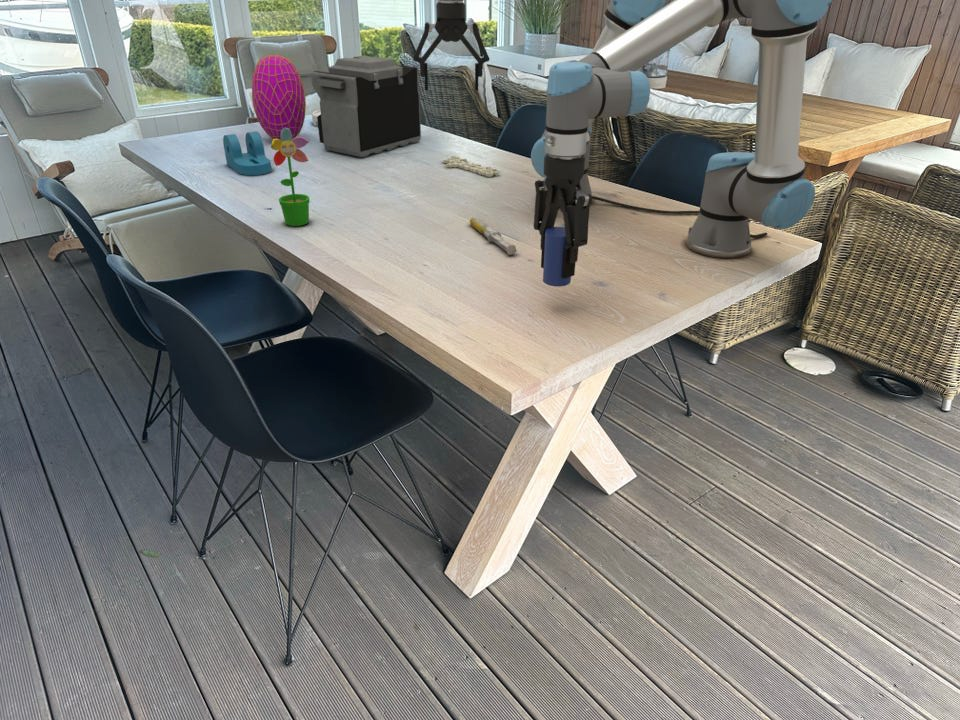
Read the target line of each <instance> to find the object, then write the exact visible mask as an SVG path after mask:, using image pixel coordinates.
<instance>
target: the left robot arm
mask: <svg viewBox="0 0 960 720" xmlns="http://www.w3.org/2000/svg"><path fill="white" fill-rule="evenodd" d="M464 1H465V0H438V1H437V2H436V4H435V11H436V12H435V13H436V14H435V16H436V20H435V23H432V22H428V21H426V22H425V23H424V27H423V28H424V29H423V33H422V35H421V38H420V39H419V42H418V45H417V48H416V49H415V53H414V54H413V57H412V60H413V62H416V63H419V74H420V77H421V78H422V77H423V78H424V90H425V91H429V76H428V75H429V74H428V73H429V71H428V63H427V60H429V58H430V56H431V55H432V53H433V52H434V51H435V50H436V48H437V47H438V45H439V44H440V43H441V42H442V41H443V42H445V43H450V42H453V43H457V42H459V41H461V42H462V44H463V45H464V46H465V48H466V49H467V50H468V51H469V53H470V54H471V55H472V56H473V58H474V59H475V61H476V62H475V63H474V90H475V91H479V78H482V77H483V76H484V75H483V73H484V70H483V69H484V68H483V67H484V66H483V65H484V63H488V62H489V61H490V57H489V54H488V52H487V49H486V48H485V45H484V43H483V40H482V38H481V37H480V34H479V29H478V28H479V27H478V24H477V22H475V21H474V22H472V23H467V22H466V4H465V2H464ZM671 2H672V0H610V2H609V4H608V6H607V8H606V10H605V12H604V14H603V17H604V20H605V21H604V22H605V25H604V28H603V30H602V31H601V33H600V35H599V38H598V39H597V41H596V43H595V45H594V47H593V49H592V51H591V53H592V52H594V51H596V50H597V49H599V48H600V47H602V46H603V45H605V44H607V43H608V42H610V41H611V40H613V39H614V38H616V37H618V36H619V35H621V34H622V33H624V32H625V31H627V30H629V29H630V28H632V27H633V26H635V25H636V24H638V23H640V22H641V21H643V20H644V19H646V18H647V17H649V16H651V15H652V14H654V13H655V12H657V11H658V10H660V9H662V8H663V7H665V6H666V5H668V4H669V3H671ZM434 29H435V31H436V32H437V34H438V35H437V36H436V38H435V39H434V41H433V42H431V44H430V45H429V47H428V48H427V50H426V51H425V52H424V53H423V55H422V56H420V55H421V53H422V50H423V49H424V45H425V44H426V41H427V39H428V36H429V33H432V31H433V30H434ZM467 30H469V32H470V33H473V36H474V38H475V41H476V42H477V45H478V48H479V50H480V52H481V55H482V56H483V57H481V56H480V55H479V54H478V52H477V50H476V49H475V48H474V47H473V45H472V44H471V43H470V41H469V40H468V39H467V37H466V36H465V33H466V31H467ZM595 120H596V118H594V119H589V120H588V129H587V142H586V153H585V154H583V156H584V157H585V167H584V175H583V176H582V178H581V180H580V185H581V191H582V192H583V193H585V194H586V195H588V194H591V195H592V200H591V202H592V201H593V200H596V201H600V202H604V203H608V204H611V205H615V206H619V207H623V208H627V209H631V210H637V211H643V212H648V213H655V214H656V213H657V214H668V215H687V214H688V215H689V214H691V215H693V214H694V215H699V211H700V210H662V209H653V208H647V207H641V206H636V205H632V204H631V205H630V204H626V203H621V202H618V201H614V200H610V199H607V198H603V197H599V196H594V195H593V193H592V188H591V184H590V179H589V165H590V153H591V142H592V134H593V131H592V130H593V129H592V127H593V123H594V121H595ZM545 136H546V128H545V129H544V131H543V133H542V135H541V137H540V138H539V139H537V140H536V142H535V143H534V144H533V147H532V148H531V151H530V152H531V153H530V162H531V164H532V168H533V169H534V171H535V172H536V173H537V174H538V175H539V176H540V177H542V178H543V179H546V176H545V175H544V156H545V155H546V154H547V153H546V152H545ZM568 206H571V205H568ZM568 206H567V207H568ZM748 222H749V223H751V220H750V219H749V220H748Z"/></svg>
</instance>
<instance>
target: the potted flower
mask: <svg viewBox="0 0 960 720" xmlns="http://www.w3.org/2000/svg"><path fill="white" fill-rule="evenodd" d="M280 136H281V140H282V141H281V140H279V139H273V138H272V141H271V145H270V148H271V149H272V150H274V151H275V153H274V155H273V163H274V165H275V167H277V166H282V164H283V163H285V161H286V158H287V164H288V165H287V166H288V171H289V178H284V179H282V180H281V181H280V184H281V185H282V186H285V187H291V193H290V194H286V195H282V196H280V197H279V198H278V202H279V205H280V207H281V210H282V215H283V219H284V223H285V225H287V226H290V227H291V226H292V227H301V226H304V225H306V224H309V222H310V206H309V205H310V196H309V195H307V194H303V193H296V192H295V191H296V190H295V184H294V178H296V177H297V176H299V174H300V173H299V171H297V170H295V171H293V168H292V162H291V161H292V160H291V159H293V160H294V161H296V162H297V163H307V162H309V158H308V156H307V155H306V153H305V152H303V150H301V148H303V147H305V146H306V145H308V144H309V143H310V140H308V139H307V138H306V137H303V136H299V135H298V136H296V137H295V138H293V139H292V134H291V131H290V130H289V129H288V128H284V129H283V130H282V131H281V134H280Z"/></svg>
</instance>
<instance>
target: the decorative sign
mask: <svg viewBox="0 0 960 720" xmlns="http://www.w3.org/2000/svg"><path fill="white" fill-rule="evenodd" d="M442 161H443V164H445V165H446V168H459V169H463V170H465V171H469V172H472V173H474V174H478V175H481V176H485V177H487V178H490V177H491V178H492V177H493V176H496V177H497V176H498V175H499V171H498V170H497V168H495V167H494V168H492V166H482V164H480V163H475V162H471V163H470V162H468V159H467V158H460V156H458V155H450V157H447V158H443V160H442Z"/></svg>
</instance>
